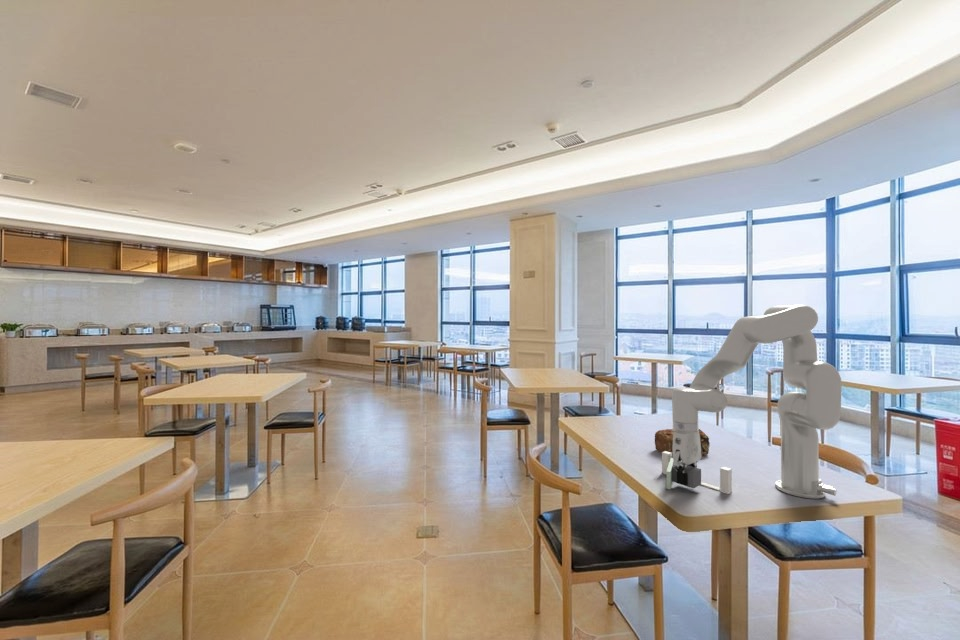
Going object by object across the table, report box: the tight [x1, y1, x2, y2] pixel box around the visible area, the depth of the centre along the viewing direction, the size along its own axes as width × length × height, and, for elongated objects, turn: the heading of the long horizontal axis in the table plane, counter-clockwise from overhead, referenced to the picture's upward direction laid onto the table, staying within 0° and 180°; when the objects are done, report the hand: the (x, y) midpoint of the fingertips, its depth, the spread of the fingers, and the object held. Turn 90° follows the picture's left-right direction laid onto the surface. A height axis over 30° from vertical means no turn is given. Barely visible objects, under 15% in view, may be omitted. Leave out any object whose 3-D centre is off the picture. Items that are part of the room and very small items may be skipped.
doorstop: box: [672, 464, 702, 489], centre depth 132 cm, size 7×5×5 cm
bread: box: [654, 428, 711, 456], centre depth 169 cm, size 19×11×10 cm, turn 97°
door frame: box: [661, 451, 733, 495], centre depth 138 cm, size 22×2×8 cm, turn 36°
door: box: [666, 456, 674, 490], centre depth 137 cm, size 16×1×6 cm, turn 150°
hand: (686, 481), depth 132 cm, fingers closed on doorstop, 5 cm apart
